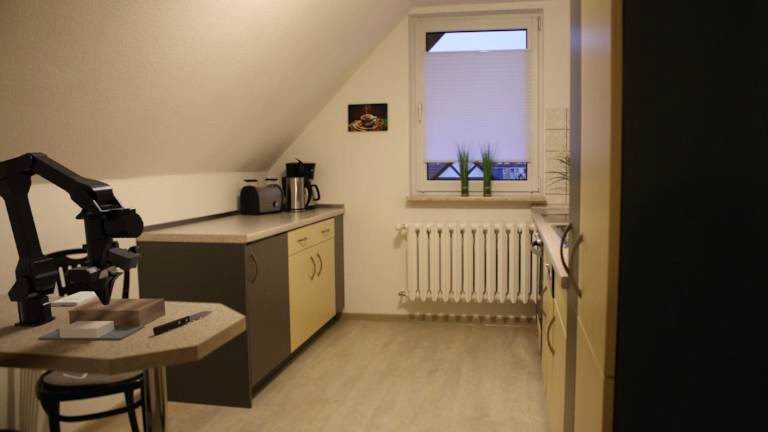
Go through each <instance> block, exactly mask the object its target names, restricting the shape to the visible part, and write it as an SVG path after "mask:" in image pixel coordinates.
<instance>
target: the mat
mask: <svg viewBox="0 0 768 432" xmlns="http://www.w3.org/2000/svg"><path fill="white" fill-rule="evenodd" d="M65 326H66V325H64V326H63V327H65ZM144 328H145V326H114V330H113V331H111V332H109V333H107V334H105V335H103V336H100V337H98V338H60V330H59V329H60V328H58V329H55V330H53V331H50V332H48V333H46V334H43V335H41V336H39V337H38V340H77V341H78V340H81V341H82V340H84V341H85V340H87V341H88V340H89V341H90V340H91V341H94V340H97V341H98V340H99V341H102V340H103V341H105V340H106V341H107V340H109V341H113V340H114V341H117V340H118V341H120V340H123V339H125V338H127V337H129V336H131V335H134V334H136V333H137V332H138V331H140V330H143V329H144Z"/></svg>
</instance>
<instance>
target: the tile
mask: <svg viewBox="0 0 768 432" xmlns="http://www.w3.org/2000/svg"><path fill="white" fill-rule="evenodd" d="M64 326H65V327H64ZM64 326H63V327H60V328H58V329H59V330H60V338H98V337H100V336H103V335H105V334H107V333H109V332H111V331H113V330H114V321H77V322H74V323H72V324H70V323H69V324H67V325H64Z"/></svg>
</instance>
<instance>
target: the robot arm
mask: <svg viewBox="0 0 768 432" xmlns="http://www.w3.org/2000/svg"><path fill="white" fill-rule="evenodd" d="M36 175H38V176H40V177H41V178H43V179H44V180H46V181H48V182H50V183H51V184H53V185H54V186H56V187H58V188H60V189H62V190H63V191H65V192H66V193H67V194H68V195H69V197H70V199H71V201H72V202H73V203H75V204H76V205H77V206H78V207H79V208H81V210H80V212H79V213H78V214H77V215H76V216H75V220H78V221H79V220H83V226H84V234H85V237H84V238H85V243H84V244H83V243H82V244H81V246H82V249H83V250H86V256H87V261H85V262H83V266H77V267H73V268H69V269H68V270H66V272H65V273H64V282H65V284H69V283H70V284H72V283H73V284H75V283H78V284H79V283H80V284H81V283H82V284H83V283H86V284H87V285H89V288H91V290H92V291H94V292H95V294H96V295H97V297H98V298H97V299H99V300H100V301H101V303H102V304H103V305H108V304H109V303H110V299H112V294H113V289H114V286H115V282H116V280H118V278H119V277H120V276H122V275H123V274H124V271H127V272H128V271H131V270H132V269H136V268H137V267H138V262H139V261H142V259H143V258H142V253H141V247H140V246H138V245H132V246H129V248H121V247H120V243H119V241H118V240H114V239H137V238H139V237H140V236H141V235H142V234H143V232H144V229H145V228H144V224H145V223H144V221H143V219H142V217H141V215H140V214H138V213H137V209H136V208H135V207H129V208H125V206H124V205H123V203H122V202H121V200H120V199H119V198H118V197H117V195H116V194H115V193H114V191H113V187H112V186H111V185H110V184H108V183H107V182H103V181H100V180H98V179H92V178H89V177H84V176H81V175H80V174H79V173H76V172H75V171H73V170H71V169H69V168H68V167H66V166H64V165H63V164H61V163H59V162H58V161H56V160H54V159H52V158H51V157H49V156H48V155H47V154H46V153H44V152H26V153H23V154H21V155H19V156H16V157H13V158H9V159H6V160H2V161H1V160H0V197H1V198H2V199H3V200H4V204H5V205H4V206H5V209H6V211H7V216H8V220H9V224H10V228H11V232H12V236H13V239H14V243H15V246H16V247H15V248H16V251H17V254H18V261H17V264H16V267H15V270H14V275H15V282H14V284H12V286H11V288H9V289H10V290H9V291H8V292H7V295H8V299H9V301H10V302H15V303H16V304H17V313H18V322H14V326H18V325H23V326H31V327H32V326H36V327H37V326H40V325H42V324H45V323H48V322H50V321H53V320H55V319H56V316H53V315H52V313H53V312H52V306H51V302H50V296H49V295H53V294H55V290H56V289H55V288H56V284H57V282H58V275H59V272H58V269H57V266H56V261H55V259H54V258H53V257H50V258H48V257H47V256H46V255H45V254H44V253H43V249H42V247H41V241H40V238H39V234H38V231H37V230H38V229H37V227H36V223H35V219H34V215H33V211H32V207H31V204H30V200H29V192H30V189H31V188H32V184H33V182H32V177H34V176H36ZM117 268H118V269H120V270H121V271H118V269H117Z"/></svg>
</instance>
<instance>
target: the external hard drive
mask: <svg viewBox="0 0 768 432" xmlns="http://www.w3.org/2000/svg"><path fill="white" fill-rule="evenodd" d="M96 299H99V298H98V297H97V295H96V294H95V292H94V291H93V290H92V291H78V292H76V293H75V292H74V293H73V294H70V295H67V296H65V297H62V298H60V299H57V300H55V301H51V302H50V303H51V307H62V306H63V307H65V306H67V307H68V306H69V307H72V306H73V307H76V306H77V307H79V306H81V305H84V304H86V303H89V302H91V301H94V300H96Z"/></svg>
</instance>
